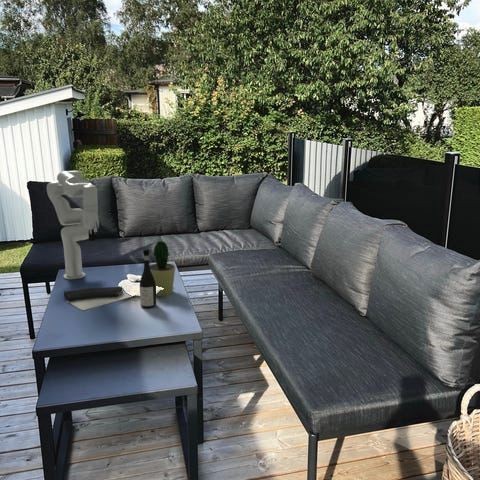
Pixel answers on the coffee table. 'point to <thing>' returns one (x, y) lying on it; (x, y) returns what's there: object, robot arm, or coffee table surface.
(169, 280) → the potted cactus
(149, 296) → the wine bottle
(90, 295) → the magazine
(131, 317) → the coffee table surface
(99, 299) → the mat
